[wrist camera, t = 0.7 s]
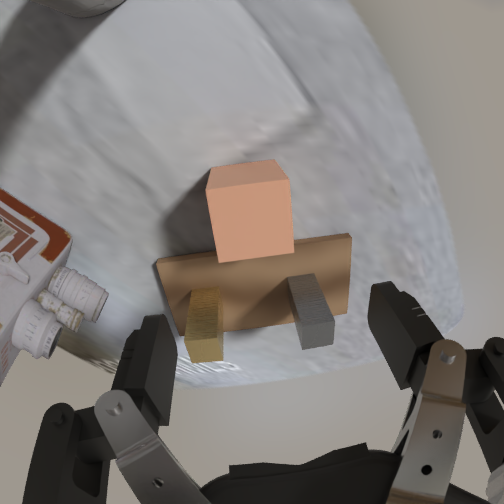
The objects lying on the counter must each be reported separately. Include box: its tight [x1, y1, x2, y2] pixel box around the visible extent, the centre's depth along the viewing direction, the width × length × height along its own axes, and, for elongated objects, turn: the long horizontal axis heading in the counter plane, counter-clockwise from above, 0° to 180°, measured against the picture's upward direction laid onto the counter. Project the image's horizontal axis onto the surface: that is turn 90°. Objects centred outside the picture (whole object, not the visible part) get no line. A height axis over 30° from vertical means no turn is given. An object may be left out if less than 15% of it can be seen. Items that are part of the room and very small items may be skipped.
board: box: [156, 233, 352, 336], centre depth 30 cm, size 9×18×1 cm, turn 97°
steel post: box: [287, 273, 335, 350], centre depth 26 cm, size 3×3×7 cm
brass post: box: [184, 286, 224, 363], centre depth 26 cm, size 3×3×7 cm
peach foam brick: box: [206, 159, 294, 263], centre depth 23 cm, size 5×5×7 cm
